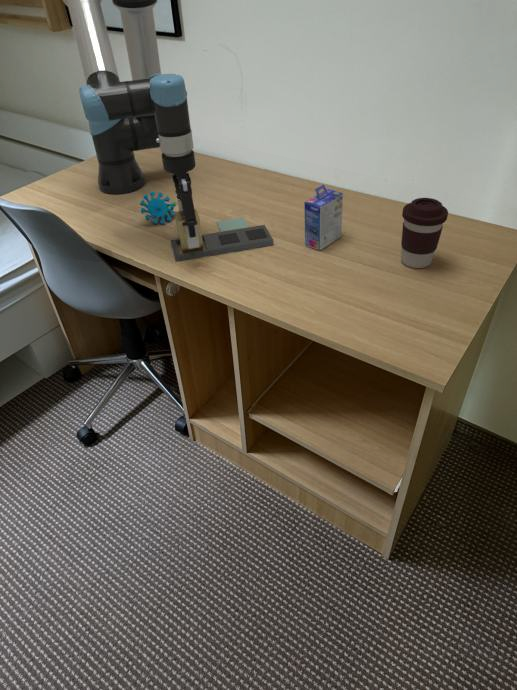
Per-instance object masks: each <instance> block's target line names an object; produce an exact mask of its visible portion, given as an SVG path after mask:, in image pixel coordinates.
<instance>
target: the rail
mask: <svg viewBox="0 0 517 690" xmlns="http://www.w3.org/2000/svg"><path fill="white" fill-rule="evenodd" d="M202 240H203V244H204V245H205V249H204V250H201V251H195V252H189V253H183V254H182V253H179V248H178V246H180V240H179V238H174V239H170V244H171V248H172V253H173V257H174V261H175V262H180V261H187V260H192V259H199V258H205V257H210V256H218V255H222V254H228V253H235V252H241V251H247V250H252V249H258V248H263V247H270V246H274V239H273V237H272V236H271V234H270V232H269V231H268V229H267V227H266V225H265V224H260V225H254V226H248V227H247V228H241V229H235V230H229V231H222V232H220V231H218V232H210V233H205V234H202Z"/></svg>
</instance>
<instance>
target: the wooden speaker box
mask: <svg viewBox="0 0 517 690" xmlns="http://www.w3.org/2000/svg"><path fill="white" fill-rule="evenodd" d="M194 210H195V215H196V221H197V232H198V239H199V246H200V247H197V248H191V249H189V248H188V242H187V235H186V229H185V226H183V224H182V223H184V222H185V218H184V213H183V211H178V210H177V211H175V213H174V216H175V222H176V227H177V234H178V239H179V240H180V245H179V247H180V249H181V254H183V253H189V252H195V251H201V250H205V249H204V241H203V240H202V235H203V234H202V227H201V220H200V219H201V218H200V215H199V213H198V210H197V208H194Z"/></svg>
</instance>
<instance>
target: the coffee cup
mask: <svg viewBox="0 0 517 690" xmlns="http://www.w3.org/2000/svg"><path fill="white" fill-rule="evenodd" d="M401 212H402V213H401V215H402V218H403V223H402V231H401V256H400V261H401V262H402V264H403V265H405V266H407V267H409V268H413V269H423V268H426V267H428V266H431V264H432V261H433V259H434V256H435V252H436V250H437V248H438V244H439V241H440V238H441V236H442V235H441V234H442V231H443V226H444V225H443V224H444V223H445V222H446V221H447V220H448V217H449V211H448V209H447V207H445V206H444V205H443V203H442V202H441V201H439V200H438V199H435V198H432V197H419V198H416V199H412V201H411V202H410V203H407V204H405V205H404V206H403V208H402V211H401Z"/></svg>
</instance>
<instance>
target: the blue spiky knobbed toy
mask: <svg viewBox="0 0 517 690" xmlns="http://www.w3.org/2000/svg"><path fill="white" fill-rule="evenodd" d="M149 195H150V197H151V199H149ZM155 195H156V192H155V191H150V193H149V194H147V193H146V194H144V195H143V196H142V197H143V199H142V200H141V201H140V203H139V205H140V206H144V207H141V208H140V213H141V214H145V213H147V214H145V216H144V218H145V220H147V221H149V220H150V219H151V218H153V219H152V222H151V223H152V224H153V225H157V223H158V219H161V220H160V222H159V225H165V224H166V222H171V221H172V220H173V218H172V217H174V216H175V212H176V211H175V210H174V208H175V207H176V206H177V205H178V201H176V200H175V201H173V203H172V202H171V203H167V202H170V200H171V198H170V197H169V196H165V198H163V199H161V198H162V197H163V196H164V193H163V192H161V191H159V192H158V193H157V197H156V198H155ZM145 201H146V202H147V203H146V202H145ZM171 216H172V217H171ZM165 217H166V221H165Z"/></svg>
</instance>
